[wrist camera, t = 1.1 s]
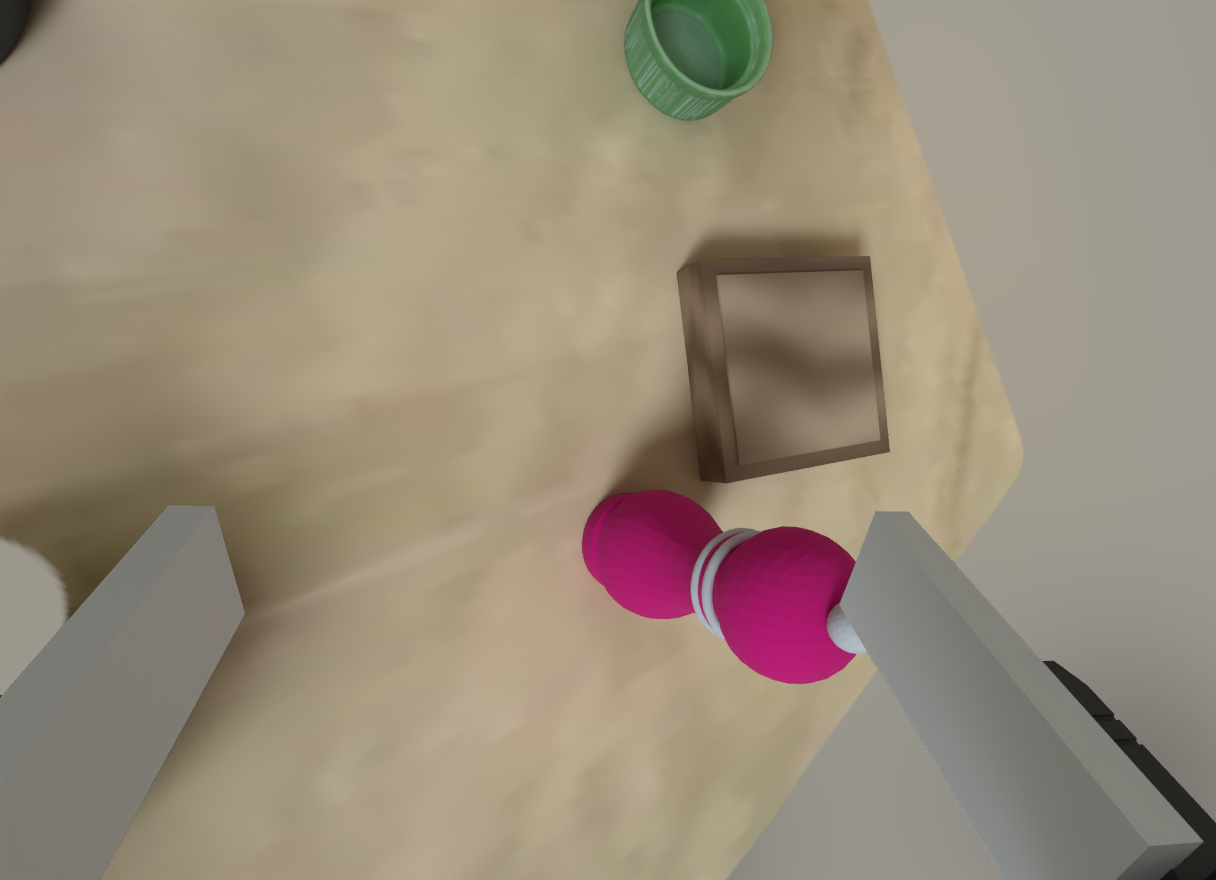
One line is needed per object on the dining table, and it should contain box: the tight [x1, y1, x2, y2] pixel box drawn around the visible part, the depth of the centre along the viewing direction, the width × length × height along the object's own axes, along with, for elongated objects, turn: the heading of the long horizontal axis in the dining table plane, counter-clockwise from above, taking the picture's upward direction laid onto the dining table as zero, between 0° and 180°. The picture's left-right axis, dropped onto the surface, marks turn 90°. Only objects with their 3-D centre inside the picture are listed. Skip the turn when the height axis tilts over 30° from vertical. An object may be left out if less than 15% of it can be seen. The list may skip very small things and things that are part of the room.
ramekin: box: [625, 0, 773, 120], centre depth 38 cm, size 9×9×4 cm
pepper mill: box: [582, 490, 867, 684], centre depth 29 cm, size 7×7×20 cm
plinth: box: [677, 256, 890, 483], centre depth 41 cm, size 14×14×3 cm
